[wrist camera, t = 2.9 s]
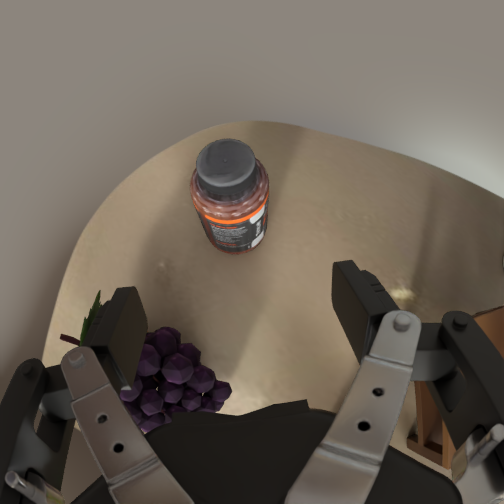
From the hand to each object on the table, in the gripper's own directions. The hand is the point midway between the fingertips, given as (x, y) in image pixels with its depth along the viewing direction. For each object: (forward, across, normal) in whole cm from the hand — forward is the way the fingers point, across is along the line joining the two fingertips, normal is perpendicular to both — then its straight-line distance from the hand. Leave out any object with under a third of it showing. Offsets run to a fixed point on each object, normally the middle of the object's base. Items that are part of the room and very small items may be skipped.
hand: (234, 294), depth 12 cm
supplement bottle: (+18, 0, +5) cm, 19 cm away
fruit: (+9, +9, +14) cm, 19 cm away
